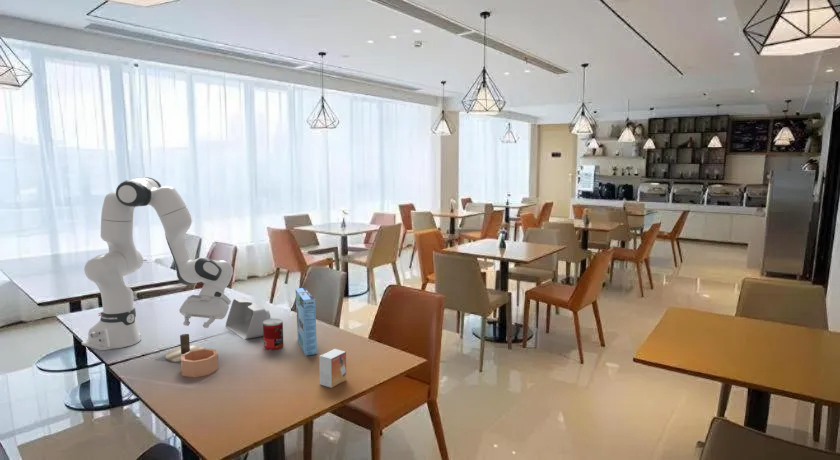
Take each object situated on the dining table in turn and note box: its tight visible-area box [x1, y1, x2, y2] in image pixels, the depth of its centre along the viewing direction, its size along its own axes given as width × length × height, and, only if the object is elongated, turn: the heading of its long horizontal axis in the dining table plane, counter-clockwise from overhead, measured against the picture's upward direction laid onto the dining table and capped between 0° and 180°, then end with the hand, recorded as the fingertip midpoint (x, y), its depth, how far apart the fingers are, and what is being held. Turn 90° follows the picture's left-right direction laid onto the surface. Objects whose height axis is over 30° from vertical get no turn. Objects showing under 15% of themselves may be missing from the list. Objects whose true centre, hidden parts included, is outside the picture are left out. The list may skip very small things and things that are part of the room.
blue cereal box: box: [295, 287, 318, 357], centre depth 200 cm, size 20×5×23 cm, turn 23°
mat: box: [155, 354, 181, 365], centre depth 191 cm, size 15×15×1 cm
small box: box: [318, 348, 347, 389], centre depth 169 cm, size 8×6×10 cm
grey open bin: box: [225, 297, 271, 340], centre depth 222 cm, size 25×16×12 cm, turn 41°
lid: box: [165, 333, 204, 363], centre depth 191 cm, size 14×14×8 cm
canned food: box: [262, 318, 284, 351], centre depth 200 cm, size 8×8×11 cm
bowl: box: [180, 347, 219, 378], centre depth 177 cm, size 12×12×6 cm
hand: (195, 326), depth 196 cm, fingers open, 8 cm apart
